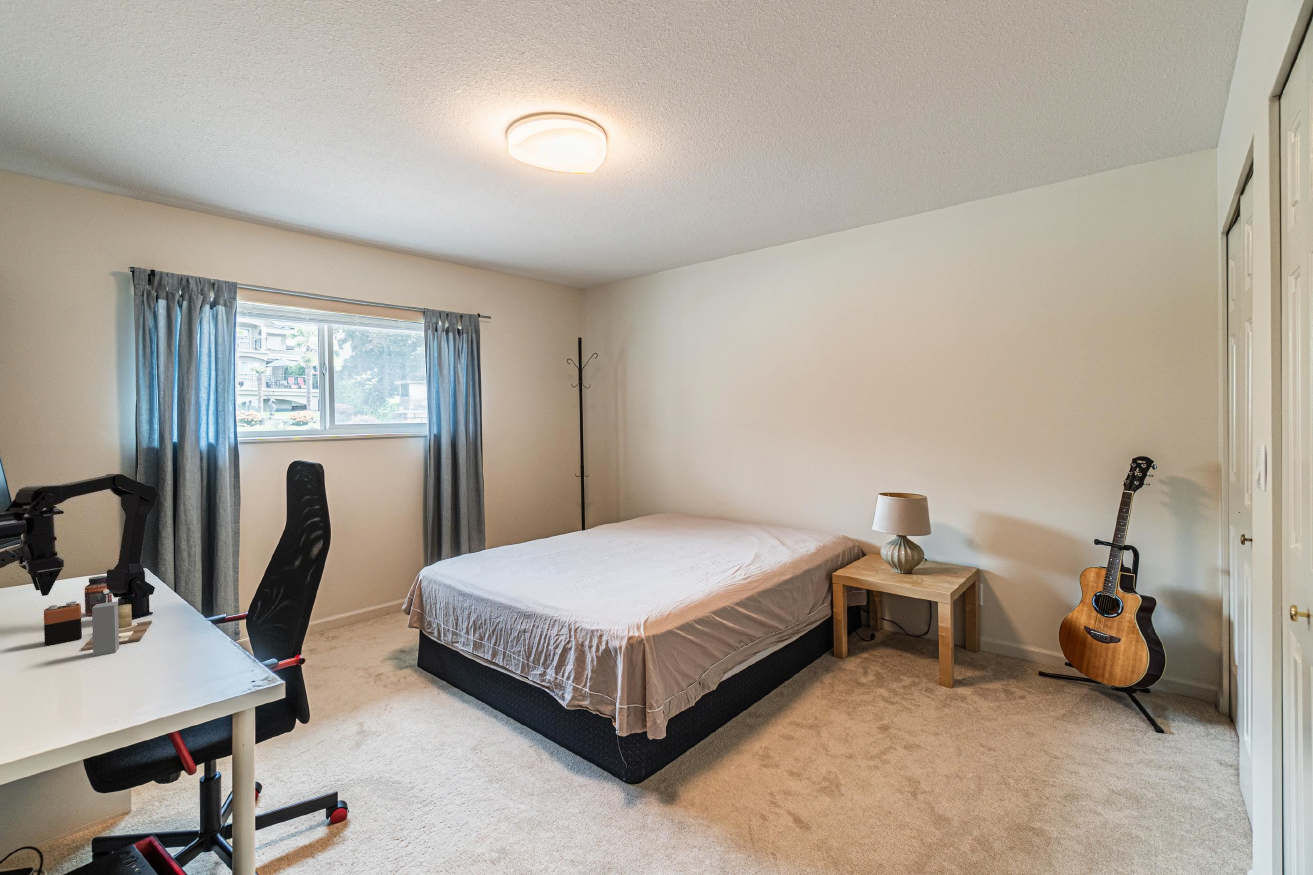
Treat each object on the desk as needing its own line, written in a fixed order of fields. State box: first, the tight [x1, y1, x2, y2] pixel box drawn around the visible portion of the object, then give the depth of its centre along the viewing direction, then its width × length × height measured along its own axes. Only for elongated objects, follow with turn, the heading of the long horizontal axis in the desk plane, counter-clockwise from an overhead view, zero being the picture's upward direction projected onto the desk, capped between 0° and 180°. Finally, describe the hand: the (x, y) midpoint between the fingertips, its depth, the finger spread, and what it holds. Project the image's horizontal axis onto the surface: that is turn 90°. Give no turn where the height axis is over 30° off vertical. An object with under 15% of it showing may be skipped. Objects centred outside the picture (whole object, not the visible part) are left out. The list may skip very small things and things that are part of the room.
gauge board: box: [80, 604, 153, 652], centre depth 153 cm, size 18×11×7 cm, turn 34°
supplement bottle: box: [84, 575, 113, 617], centre depth 174 cm, size 6×6×11 cm
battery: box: [43, 600, 83, 647], centre depth 150 cm, size 4×7×10 cm, turn 137°
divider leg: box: [91, 600, 120, 657], centre depth 141 cm, size 4×4×12 cm
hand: (41, 592), depth 148 cm, fingers open, 9 cm apart
